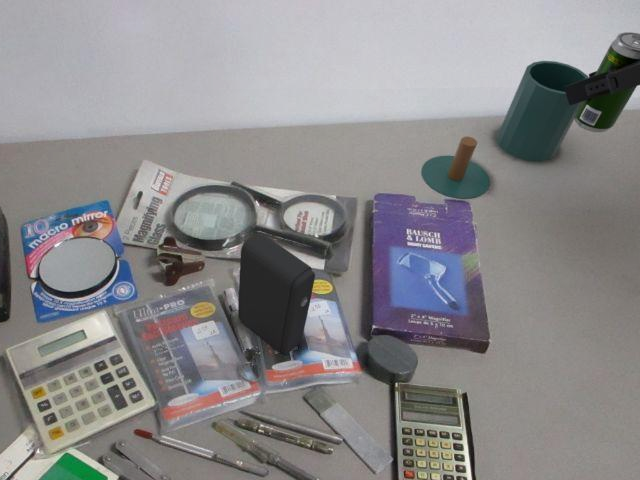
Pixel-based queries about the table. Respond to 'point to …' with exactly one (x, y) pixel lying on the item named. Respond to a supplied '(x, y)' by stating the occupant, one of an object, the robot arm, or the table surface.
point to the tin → (539, 111)
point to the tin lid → (457, 173)
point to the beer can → (609, 106)
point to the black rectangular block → (274, 292)
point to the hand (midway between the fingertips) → (580, 88)
